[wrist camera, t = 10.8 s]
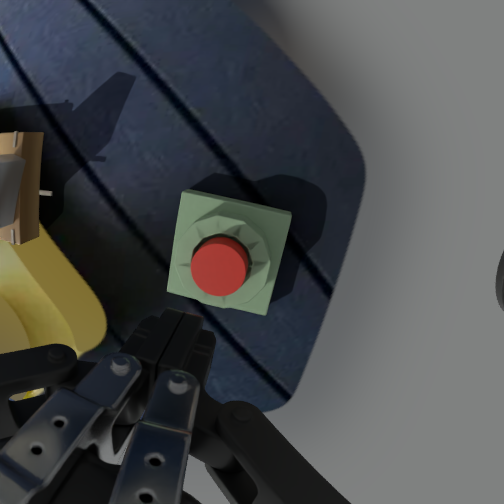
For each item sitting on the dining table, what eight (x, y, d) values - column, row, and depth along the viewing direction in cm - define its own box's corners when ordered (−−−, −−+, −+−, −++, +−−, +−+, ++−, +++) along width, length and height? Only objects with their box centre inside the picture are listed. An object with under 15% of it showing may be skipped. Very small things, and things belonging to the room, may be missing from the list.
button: (253, 243, 22) (251, 250, 20) (242, 291, 23) (239, 302, 21) (201, 231, 22) (195, 237, 20) (192, 279, 23) (186, 289, 21)
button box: (291, 211, 24) (293, 220, 21) (266, 306, 26) (265, 327, 23) (188, 188, 24) (174, 194, 21) (172, 283, 26) (159, 301, 23)
